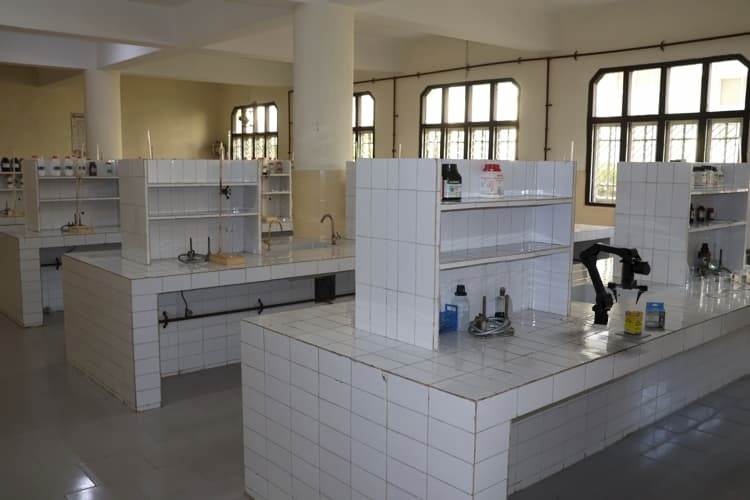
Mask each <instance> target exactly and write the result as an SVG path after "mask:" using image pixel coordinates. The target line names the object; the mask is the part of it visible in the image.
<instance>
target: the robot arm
mask: <svg viewBox="0 0 750 500" xmlns="http://www.w3.org/2000/svg"><path fill="white" fill-rule="evenodd" d="M601 252H602V253H608V254H612V255H615V256H617V257H619V258H621V259H620V260H619V261H618V262H619V264H620V263H621V264H622V272H621V273H622V274H621V281H620V283H617V281H608V282H607V287H606V288H607V289H609V290H610V291H612V293H611V292H609V293H608V292H607V290H606V288H605V286H604V283H603V280H602V277H601V274H600V272H599V269H598V266H597V262H598V259H597V258H598V256H599V255H600V253H601ZM578 256H579V261H580V262H581V264H582V265H583V267H585V268H586V269H587V273H588V274H589V278H590V281H591V283H592V286H593V289H594V291H595V304H594V305H592V306H591V311H592V312H594V314H593V316H594V319H593V324H597V325H608V324H609V317H610V315H609V314H608V313H609V312H611V310H612V308H613V306H614V305H615V304H614V301H615V302H616V303H617V304H618V291H617V290H618V289H620V288H621V289H622V290H629V291H632V290H633V289H634V290H637V295H636V300H635V305H637V304H638V302H639V299H640V298H641V296H642V294H645V293H646V292H648V290H649V286H648V284H647V283H639V284H638V279H635V274H636V275H641V276H648V275H650V273H651V271H652V270H651V269H652V268H651V265H650V264H649V260H648V261H647V260H646V261H643V259H642V257H641V256H640V254H639V252H638V249H637V247H634V246H630V247H629V246H627V247H625V246H624V247H623V246H622V247H621V246H616V245H611V244H607V243H603V242H595V243H593V244H592V245H591V246H589V247H588V248H586V249H585V250H581V251H580V253H579V255H578ZM617 288H618V289H617ZM613 296H614V298H613Z"/></svg>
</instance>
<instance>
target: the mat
mask: <svg viewBox="0 0 750 500" xmlns="http://www.w3.org/2000/svg"><path fill="white" fill-rule="evenodd" d="M614 334H615V336H616V335H617V336H620V337H627V338H631V339H635V340H641V339H643V338H648V337H650V336H652V335H651V333H648V332H647V333H646V332H641V334H638V335H630V334H627V333H624V330H621V331H617V332H615V333H614Z"/></svg>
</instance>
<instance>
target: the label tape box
mask: <svg viewBox="0 0 750 500" xmlns="http://www.w3.org/2000/svg"><path fill="white" fill-rule="evenodd" d="M664 306H665V302H657V301H654V302H653V301H646V303H645V318H644V326H645V327H646V328H665V326H666V309H665V307H664Z"/></svg>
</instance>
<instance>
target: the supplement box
mask: <svg viewBox="0 0 750 500" xmlns="http://www.w3.org/2000/svg"><path fill="white" fill-rule="evenodd" d="M643 315H644V312H643V311H639V310H635V309H631V310H625V314H624V328H623V331H624V333H627V334H630V335H638V334H641V332H642V330H643V318H644V317H643Z"/></svg>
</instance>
